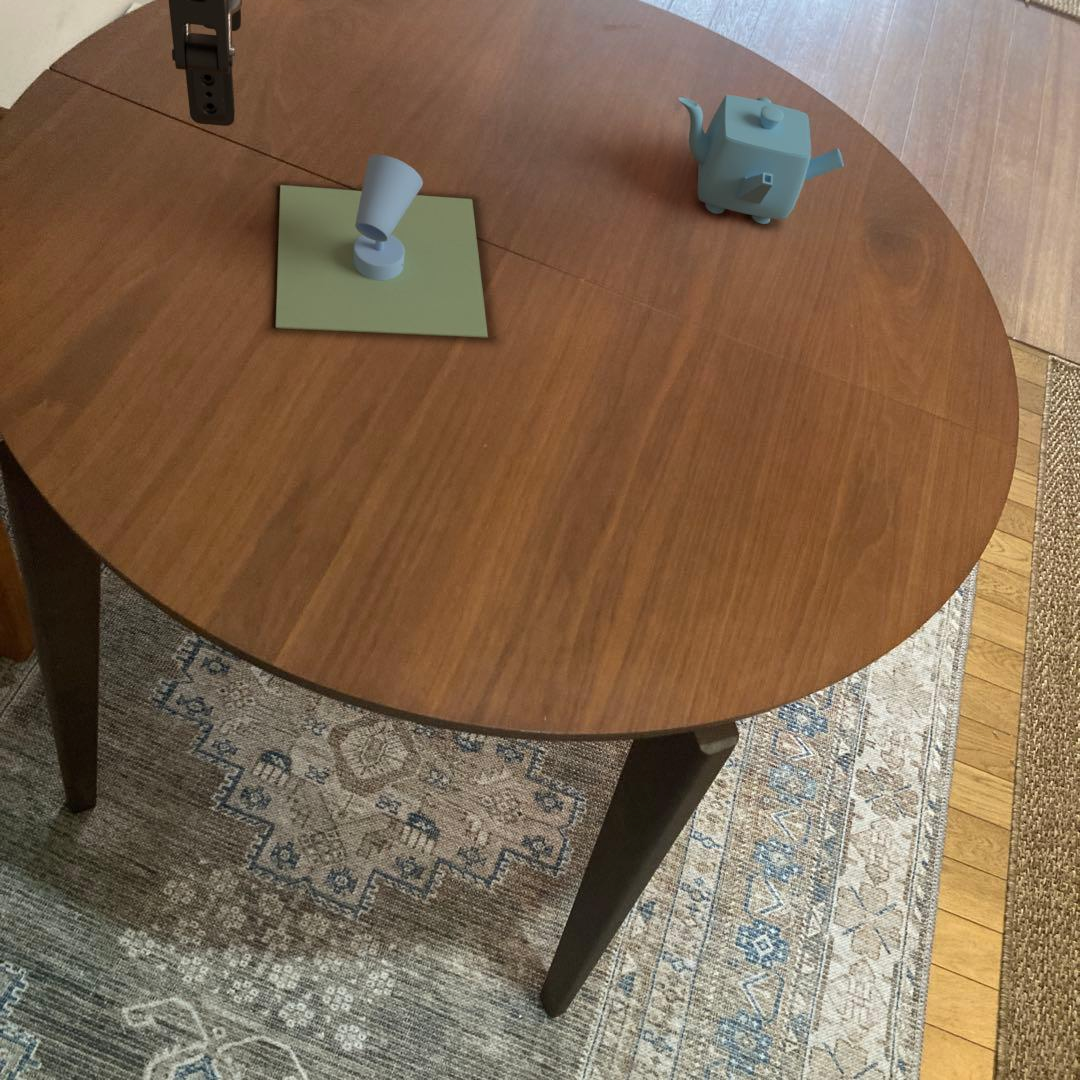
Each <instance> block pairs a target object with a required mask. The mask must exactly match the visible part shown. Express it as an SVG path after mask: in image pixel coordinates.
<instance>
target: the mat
mask: <svg viewBox="0 0 1080 1080" xmlns="http://www.w3.org/2000/svg"><path fill="white" fill-rule="evenodd" d="M361 193H362V190H354V189H339V188H326V187H313V186H312V187H311V186H300V185H299V186H298V185H285V184H280V185H279V211H278V212H279V215H278V242H277V243H278V246H277V272H276V273H277V274H276V275H277V276H276V307H275V329H283V330H284V329H285V330H286V329H287V330H306V331H307V330H308V331H313V330H314V331H329V332H350V333H351V332H352V333H372V334H373V333H374V334H394V335H395V334H396V335H414V336H415V335H416V336H417V335H419V336H440V337H459V338H462V337H463V338H481V339H482V338H484V339H487V338H489V336H488V326H487V317H486V309H485V302H484V301H485V300H484V291H483V283H482V274H481V265H480V258H479V257H480V256H479V249H478V248H479V247H478V239H477V230H476V229H477V228H476V221H475V214H474V204H473V198H461V197H449V196H434V195H433V196H432V195H421V194H417V195H416V196H415V198H414V199H413V201H412V202H411V204H410V206H409V207H408V209H407V210H406V212H405V213H404V215H403V216H402V218H401V219H400V221H399V223H398V224H397V226H396V227H395V229H394V230H393V232H392V233H391V235H393V236H395V237H396V238H398V239H399V240H400V241H401V243H402V244H403V246H404V249H405V255H404V266H403V270H402V272H401V273H400V274H399V275H398V276H396V277H395V278H392V279H389V280H373V279H370V278H367V277H365V276H363V275H361V274H360V273H359V272H358V271H357V270H356V269H355V267H354V264H353V252H354V243H355V241H356V239H357V238H358V237H359V236H361V235H362V234H361V233H360V232H359V231H358V230H357V229H356V227H355V223H356V218H357V213H358V208H359V203H360V198H361Z"/></svg>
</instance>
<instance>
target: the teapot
mask: <svg viewBox="0 0 1080 1080" xmlns="http://www.w3.org/2000/svg"><path fill="white" fill-rule="evenodd" d="M678 101H679V102H680V104H681V105H683V107H684V108H685V109H686V110H687V112H688V114H689V122H690V124H689V133H688V146H689V150H690V153H691V155H692V157H693V158H694V160H695V161H696V162H698V169H697V197H698V200H699V201H700V202H702V203H705V208H706V209H707V211H709V212H711V213H713V214H722V213H724V212H725V210H728V211H732V212H737V213H741V214H745V215H750V216H751V218H752V219H753V220H754V221H755V222H756V223H758V224H761V225H765V224H769V223H770V221H771V219H773V220H782V221H783V220H786V219H787V218H788V216H789V215H790V214H791V213H792V212H793V210H794V208H795V206H796V203H797V201H798V199H799V196H800V194H801V191H802V188H803V185H804V182H807V181H809V180H812V179H815V178H817V177H820V176H823V175H825V174H828V173H831V172H833V171H836V170H838V169H842V168H843V167H844V165H845V164H844V160H843V156H842V154H841V151H840V149H839V148H836V149H833V150H831V151H828V152H825V153H822V154H820V155H817V156H815V157H812V143H811V142H812V140H811V128H810V119H809V115H808V114H807V113H806V112H804V111H801V110H798V109H794V108H791V107H787V106H783V105H779V104H775V103H773V102H772V100H770V99H769V98H768V97H764V96H760V97H757V98H756V99H754V98H749V97H746V96H745V97H744V96H738V95H731V94H727V95H725V96H724V97H723V98H722V101H721V102H720V104H719V106H718V107H717V108H716V111H715V113H714V114H713V116H712V118H711V121H710V123H709V124H708V126H707V129H706V132H705V130H704V128H703V125H704V123H703V122H704V114H703V113H704V112H703V110H702V107H701V106H700V104H699V103H697V102H696V101H694V100H692V99H690V98H686V97H683V96H681V97H678ZM811 157H812V158H811Z"/></svg>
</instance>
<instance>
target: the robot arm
mask: <svg viewBox="0 0 1080 1080" xmlns="http://www.w3.org/2000/svg"><path fill="white" fill-rule="evenodd" d="M242 5H243V0H168V9H169V18H170V19H169V20H170V27H171V37H172V46H173V48H172V49H171V58H172V61H174V64H175V69H176V70H182V71H185V72H184V73H185V80H186V81H185V82H186V90H187V98H188V100H187V101H188V108H189V109H188V110H189V117H190V118H191V120H192V121H193V122H195V123H197V124H199V125H209V126H210V125H211V126H222V127H228V126H231V125H233V123H234V122H235V112H236V110H235V109H236V108H235V107H236V106H235V92H234V80H233V79H234V77H233V65H234V64H233V63H234V62H233V61H234V59H233V57H235V56H236V45H235V44H233V32H236V31H238V30H239V29H240V28H241V26H242ZM191 25H196V26H203V28H206V29H207V30H208V29H209V30H214V31H215V34H207V33H200V32H199V33H198V32H191V31H192V30H191V29H192V27H191Z"/></svg>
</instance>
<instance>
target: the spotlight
mask: <svg viewBox="0 0 1080 1080" xmlns="http://www.w3.org/2000/svg"><path fill="white" fill-rule="evenodd" d="M423 184H424V182H423V179H422V176H421V175H420V174H419V172H417V170H416V169H414V168H413V167H412V166H410V165H409V164H407V163H406V162H404V161H402V160H400V159H397V158H396V157H393V156H389V155H385V154H373V155H371V156H369V157H368V159H367V164H366V169H365V174H364V177H363V185H362V189H361V191H362V193H361V198H360V203H359V208H358V213H357V218H356V223H355V227H356V229H357V230H358V231H359V232H360V233H361V234H362V235H361V236H359V237H358V238H357V239H356V241H355V243H354V252H353V264H354V267H355V269H356V270H357V271H358V272H359V273H360V274H361V275H363V276H365V277H367V278H370V279H373V280H389V279H392V278H395V277H396V276H398V275H399V274H400V273H401V272H402V270H403V266H404V255H405V249H404V246H403V244H402V243H401V241H400V240H399V239H398V238H396V237H395V236H393V235H391V233H392V232H393V230H394V229H395V227H396V226H397V224H398V223H399V221H400V219H401V218H402V216H403V215H404V213H405V212H406V210H407V209H408V207H409V206H410V204H411V202H412V201H413V199H414V198H415V196H416V195H418V193H419V192H420V190H421V189H422V187H423Z"/></svg>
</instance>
